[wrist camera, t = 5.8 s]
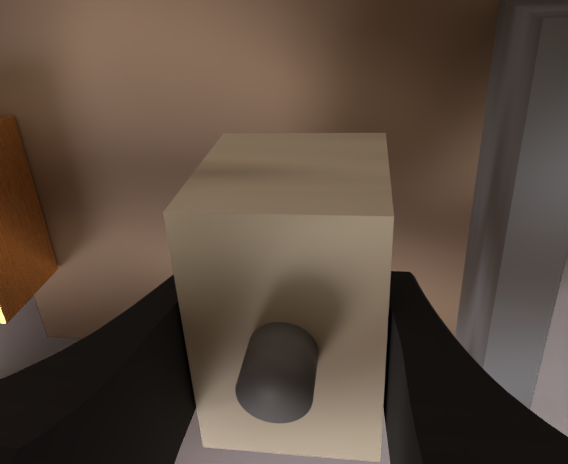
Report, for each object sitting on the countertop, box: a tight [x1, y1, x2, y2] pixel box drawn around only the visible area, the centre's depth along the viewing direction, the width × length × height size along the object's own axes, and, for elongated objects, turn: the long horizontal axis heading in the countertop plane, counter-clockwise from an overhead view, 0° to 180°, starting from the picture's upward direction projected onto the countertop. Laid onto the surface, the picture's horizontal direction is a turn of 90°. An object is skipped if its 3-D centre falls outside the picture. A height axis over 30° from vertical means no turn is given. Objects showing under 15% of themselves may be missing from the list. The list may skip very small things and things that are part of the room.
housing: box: [163, 133, 394, 462], centre depth 12 cm, size 6×4×6 cm, turn 3°
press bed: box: [0, 0, 568, 409], centre depth 18 cm, size 13×30×6 cm, turn 93°
